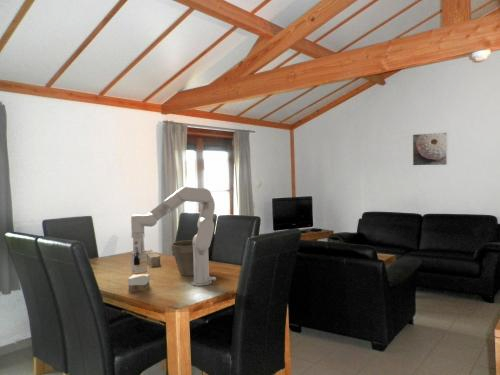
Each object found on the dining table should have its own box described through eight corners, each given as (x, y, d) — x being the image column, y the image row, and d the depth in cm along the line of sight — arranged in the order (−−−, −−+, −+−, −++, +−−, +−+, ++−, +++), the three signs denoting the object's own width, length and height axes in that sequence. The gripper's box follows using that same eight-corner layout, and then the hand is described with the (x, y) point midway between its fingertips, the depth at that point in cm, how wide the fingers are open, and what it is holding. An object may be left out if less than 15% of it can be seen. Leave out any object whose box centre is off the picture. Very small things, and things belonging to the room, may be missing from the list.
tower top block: (149, 280, 246) (149, 274, 246) (145, 284, 236) (144, 278, 236) (133, 280, 246) (133, 274, 246) (128, 285, 236) (128, 278, 236)
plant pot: (169, 278, 266) (168, 246, 265) (174, 270, 290) (173, 240, 290) (207, 277, 267) (206, 244, 267) (208, 268, 292) (207, 239, 291)
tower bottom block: (149, 286, 247) (149, 280, 247) (145, 291, 237) (145, 284, 237) (133, 287, 246) (132, 280, 246) (128, 291, 236) (128, 285, 236)
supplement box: (142, 271, 246) (142, 250, 246) (147, 272, 243) (146, 250, 242) (131, 273, 240) (130, 252, 239) (135, 275, 237) (135, 253, 236)
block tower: (160, 267, 306) (152, 259, 332) (160, 256, 305) (152, 249, 331) (150, 268, 302) (142, 260, 328) (150, 257, 302) (142, 250, 328)
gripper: (141, 236, 232) (141, 266, 233) (147, 232, 249) (147, 260, 250) (128, 237, 232) (128, 266, 232) (135, 233, 249) (135, 260, 249)
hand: (138, 263), depth 241 cm, fingers closed on supplement box, 9 cm apart
